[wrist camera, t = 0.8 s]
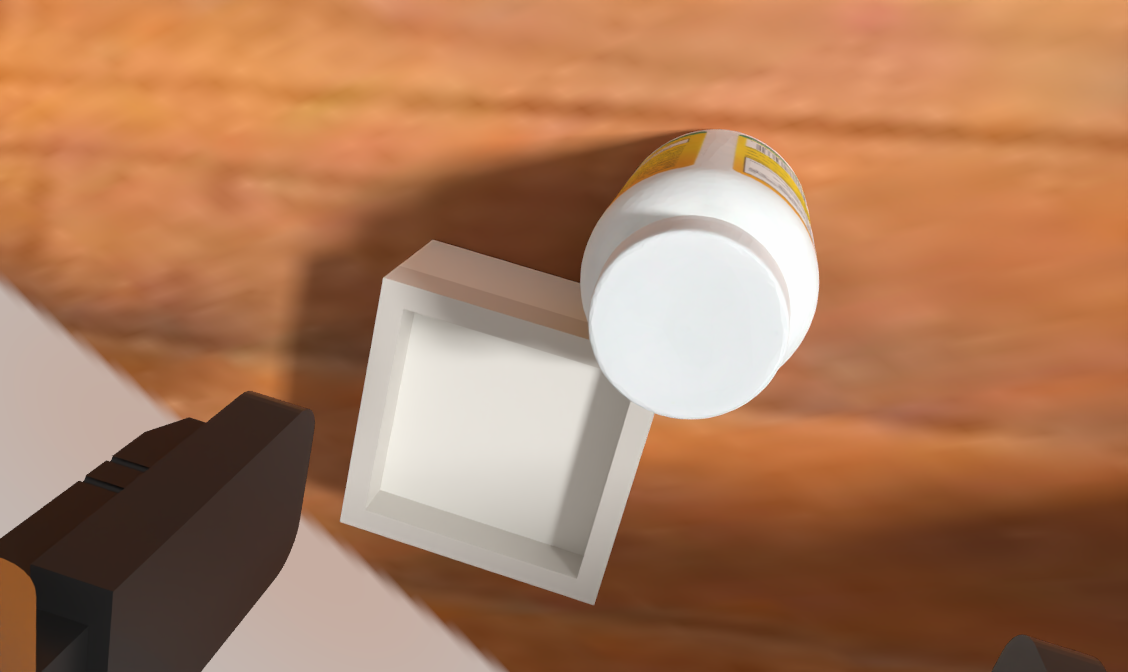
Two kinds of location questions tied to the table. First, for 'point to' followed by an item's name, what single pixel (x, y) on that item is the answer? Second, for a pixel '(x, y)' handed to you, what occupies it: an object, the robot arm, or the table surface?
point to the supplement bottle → (701, 275)
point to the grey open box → (492, 423)
